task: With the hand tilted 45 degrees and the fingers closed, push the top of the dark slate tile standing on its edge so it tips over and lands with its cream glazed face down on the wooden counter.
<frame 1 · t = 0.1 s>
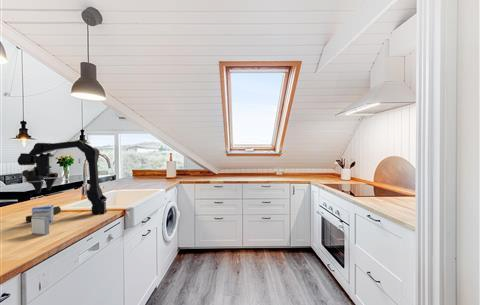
hand: (43, 191, 126), 15 cm above the countertop, tool pointing down, fingers open, 9 cm apart
hand tool: (44, 218, 127), on the countertop
medicine box: (43, 223, 117), on the countertop
tile: (40, 234, 101), on the countertop
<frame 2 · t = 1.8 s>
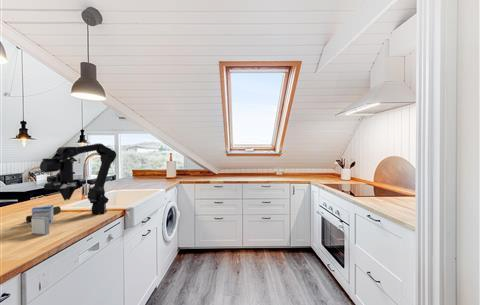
hand: (67, 200, 116), 12 cm above the countertop, tool pointing down, fingers closed
nothing on the countertop moved.
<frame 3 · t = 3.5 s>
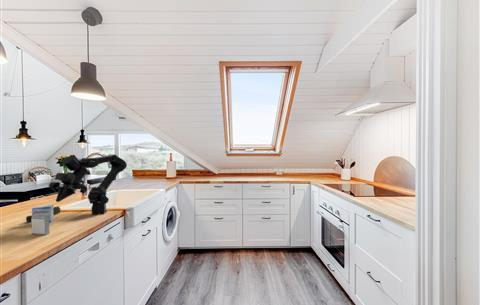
hand: (56, 201, 108), 13 cm above the countertop, tool tilted 45°, fingers closed
nothing on the countertop moved.
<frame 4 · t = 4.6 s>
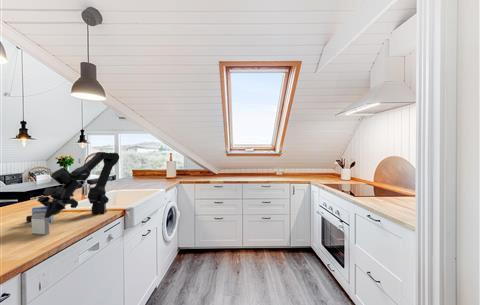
hand: (45, 217, 103), 7 cm above the countertop, tool tilted 45°, fingers closed
nothing on the countertop moved.
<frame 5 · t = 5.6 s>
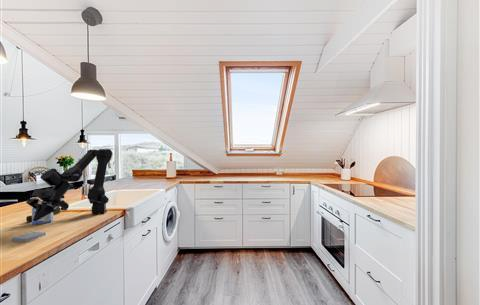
hand: (34, 220, 98), 7 cm above the countertop, tool tilted 45°, fingers closed
tile: (38, 233, 100), point 1 cm above the countertop, tilted 90°
everything else where it was.
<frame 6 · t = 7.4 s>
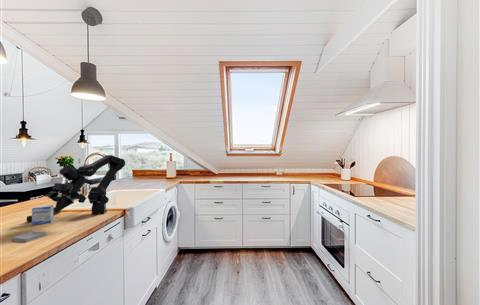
hand: (55, 212, 108), 8 cm above the countertop, tool tilted 45°, fingers closed
nothing on the countertop moved.
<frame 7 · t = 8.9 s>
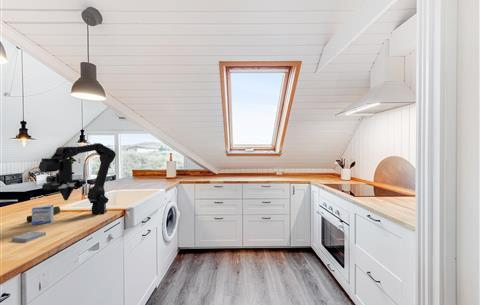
hand: (65, 200, 116), 12 cm above the countertop, tool pointing down, fingers closed
nothing on the countertop moved.
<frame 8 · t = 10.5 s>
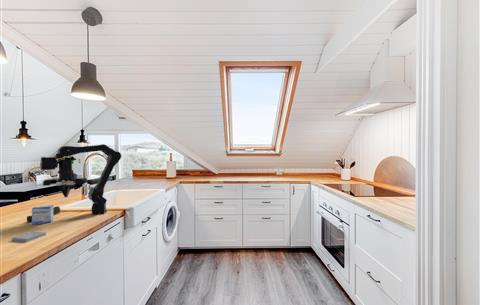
hand: (66, 197, 121), 13 cm above the countertop, tool pointing down, fingers closed
nothing on the countertop moved.
at the end: tile tilted 90°; tile point 0.5 cm above the countertop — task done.
